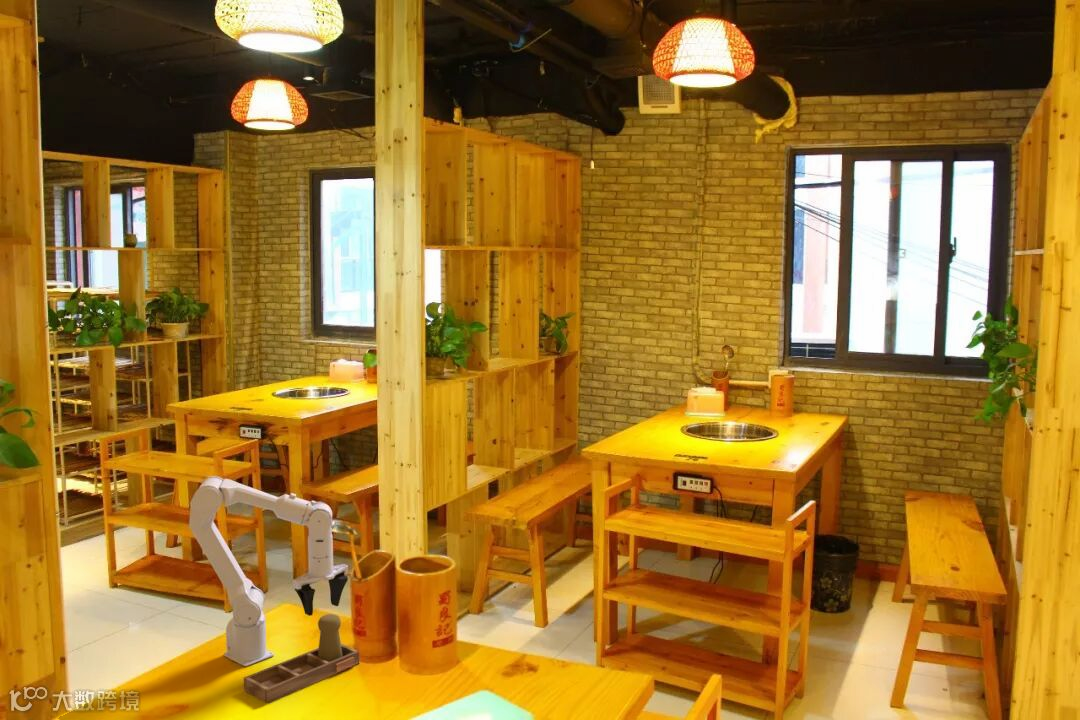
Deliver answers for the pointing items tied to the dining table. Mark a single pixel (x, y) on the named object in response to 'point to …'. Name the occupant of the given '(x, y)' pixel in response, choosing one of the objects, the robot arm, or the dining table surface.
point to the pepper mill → (329, 638)
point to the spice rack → (297, 674)
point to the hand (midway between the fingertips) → (322, 609)
